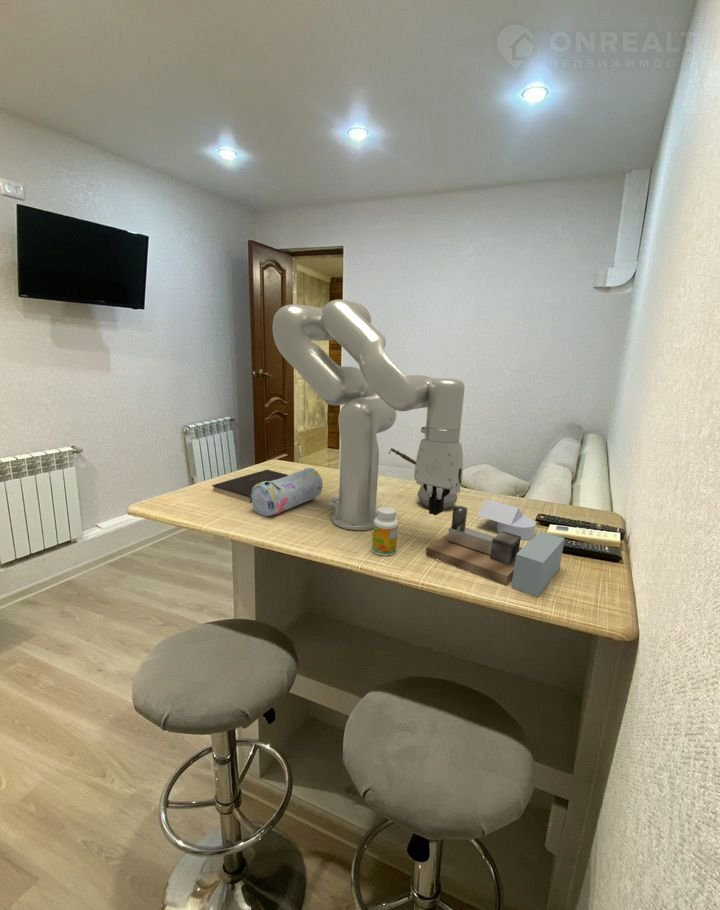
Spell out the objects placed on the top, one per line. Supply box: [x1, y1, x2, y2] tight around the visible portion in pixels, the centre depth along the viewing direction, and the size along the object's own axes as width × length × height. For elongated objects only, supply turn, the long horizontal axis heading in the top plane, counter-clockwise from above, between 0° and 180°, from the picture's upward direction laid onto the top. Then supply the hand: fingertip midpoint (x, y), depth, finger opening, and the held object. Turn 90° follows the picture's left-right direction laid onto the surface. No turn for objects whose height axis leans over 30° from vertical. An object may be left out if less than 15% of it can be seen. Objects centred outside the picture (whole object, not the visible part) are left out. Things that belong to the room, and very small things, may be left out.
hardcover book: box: [211, 469, 289, 504], centre depth 137 cm, size 16×23×2 cm
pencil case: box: [251, 467, 323, 517], centre depth 121 cm, size 21×9×10 cm, turn 145°
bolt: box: [447, 505, 496, 554], centre depth 97 cm, size 12×3×8 cm, turn 52°
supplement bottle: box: [371, 506, 399, 557], centre depth 97 cm, size 5×5×10 cm
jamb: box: [510, 531, 566, 598], centre depth 90 cm, size 5×15×7 cm, turn 142°
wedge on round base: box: [477, 498, 537, 541], centre depth 113 cm, size 9×7×13 cm
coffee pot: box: [387, 447, 458, 510], centre depth 130 cm, size 21×12×15 cm, turn 67°
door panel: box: [425, 531, 523, 586], centre depth 97 cm, size 18×15×6 cm
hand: (435, 513), depth 103 cm, fingers closed
